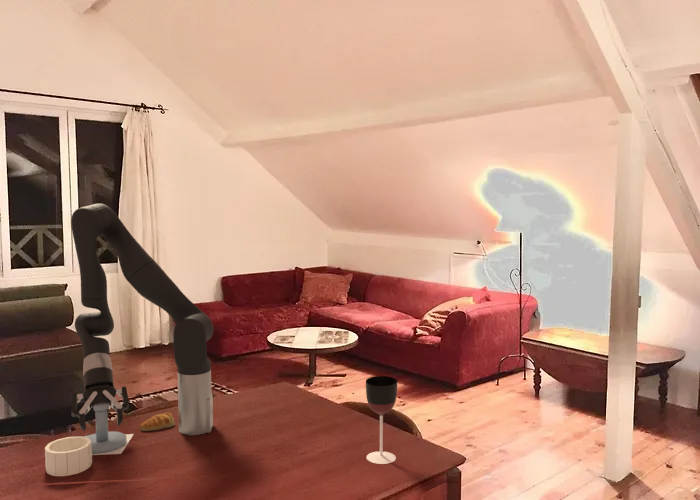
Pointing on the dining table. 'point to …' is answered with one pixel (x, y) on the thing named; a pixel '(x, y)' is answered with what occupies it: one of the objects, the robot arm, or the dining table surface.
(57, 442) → the cup
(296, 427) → the dining table surface
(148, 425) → the pastry
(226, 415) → the dining table surface
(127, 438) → the mat
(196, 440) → the dining table surface
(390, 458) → the wineglass
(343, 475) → the dining table surface
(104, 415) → the lid
